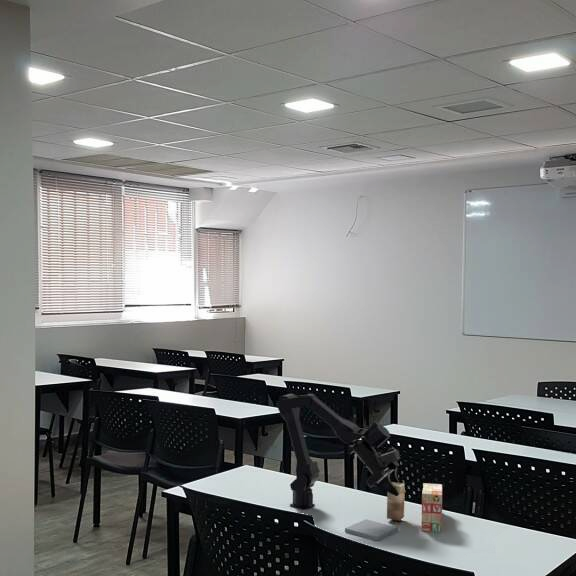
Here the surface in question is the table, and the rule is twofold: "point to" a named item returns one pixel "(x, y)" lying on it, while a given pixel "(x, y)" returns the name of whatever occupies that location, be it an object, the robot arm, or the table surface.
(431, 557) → the table surface
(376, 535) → the plate
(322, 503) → the table surface
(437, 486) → the stack of blocks
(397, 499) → the tower
